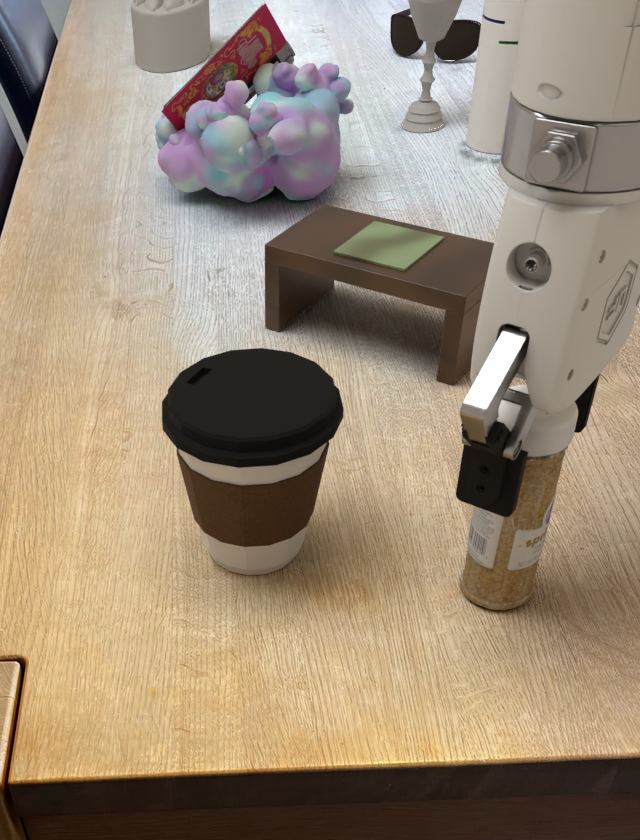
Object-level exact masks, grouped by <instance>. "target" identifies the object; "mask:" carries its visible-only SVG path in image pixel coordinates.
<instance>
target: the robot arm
mask: <svg viewBox="0 0 640 840" xmlns="http://www.w3.org/2000/svg"><path fill="white" fill-rule="evenodd" d="M497 169H498V170H497V171H498V176H499V178H500V179H501V181H502V182H503V183H505V185H506V186H508V190H507V192H506V196H505V200H504V204H503V208H502V210H501V215H500V219H499V221H498V222H499V223H498V226H497V230H496V233H495V238H494V242H493V243H494V246H493V250H492V254H491V259H490V263H489V267H488V272H487V276H486V281H485V286H484V290H483V295H482V300H481V305H480V310H479V315H478V321H477V326H476V332H475V338H474V344H473V352H472V360H471V368H470V375H469V376H470V377H469V379H470V383H471V387H470V388H469V391H468V392H467V394H466V396H465V398H464V399H463V402H462V403H461V406H460V410H459V415H460V421H461V425H460V427H461V428H460V430H461V443H462V445H463V446H462V447H463V448H462V453H461V459H460V465H459V472H458V477H457V483H456V490H455V497H456V499H457V500H458V501H460V502H462V503H465V504H468V505H470V506H473V507H474V506H475V507H478V508H481V509H484V510H486V511H489V512H492V513H495V514H497V515H500V516H503V517H509V516H511V514H512V513H513V512H514V511H515V509H516V506H517V501H518V497H519V492H520V488H521V483H522V479H523V474H524V470H525V465H526V461H527V456H528V452H527V451H524V450H522V447H523V444H524V442H525V439H526V437H527V435H528V432H529V430H530V427H531V425H532V423H533V420H534V418H535V416H536V413H537V411H538V409H540V410H544V411H546V413H547V414H551V415H554V414H557V413H559V412H562V411H563V410H565V409H566V408H568V407H569V406H571V405H572V404H573V403H574V402H575V403H576V405H577V408H578V418H577V422H576V427H575V431H574V434H579V433H581V432H583V431H584V429H585V428H586V427H587V425H588V421H589V417H590V414H591V410H592V406H593V402H594V399H595V395H596V391H597V389H598V384H599V380H600V376H601V373H602V372H603V370H605V369H606V367H607V366H608V365H609V364H610V363H611V361H613V359H614V358H615V357H616V356H617V355H618V353H619V352H620V351H621V350H622V349H623V347H624V345H626V342H627V341H628V339H629V337H630V335H631V333H632V331H633V328H634V325H635V321H636V316H637V313H638V308H639V303H640V0H525V3H524V9H523V16H522V22H521V28H520V35H519V41H518V48H517V54H516V60H515V67H514V73H513V79H512V86H511V92H510V98H509V105H508V111H507V117H506V124H505V130H504V136H503V143H502V149H501V154H500V157H499V163H498V168H497ZM515 378H517V379H520V380H523V381H525V384H527V388H528V392H529V394H527V393H523V392H520V391H517V390H513V389H510V388H509V387H511V384H512V382H513V380H514V379H515ZM501 401H505V402H509V403H512V404H515V405H518V406H521V408H520V410H519V413H518V415H517V418H516V420H515V422H514V425H513V427H512V430H511V432H510V430H509V429H508V428H507V426H506V425H505V424H504V423H502V422H499V421H497V418H498V416H499V413H498V410H499V406H500V403H501Z"/></svg>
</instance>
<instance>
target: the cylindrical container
mask: <svg viewBox="0 0 640 840" xmlns="http://www.w3.org/2000/svg"><path fill="white" fill-rule="evenodd" d="M524 3H525V0H483V7H482V15H481V22H480V23H481V30H480V37H479V45H478V48H477V53H476V61H475V69H474V76H473V85H472V91H471V100H470V108H469V115H468V122H467V131H466V137H465V145H466V146H467V147H469V148H470V149H472V150H474V151H476V152H481V153H483V154H484V153H485V154H496V155H501V149H502V143H503V136H504V130H505V124H506V117H507V111H508V105H509V98H510V92H511V86H512V79H513V73H514V67H515V60H516V54H517V48H518V41H519V35H520V28H521V22H522V16H523V9H524Z"/></svg>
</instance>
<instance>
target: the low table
mask: <svg viewBox="0 0 640 840" xmlns="http://www.w3.org/2000/svg"><path fill="white" fill-rule="evenodd" d="M493 246H494V242H492V241H488V240H482V239H478V238H474V237H469V236H465V235H461V234H457V233H452V232H448V231H443V230H438V229H434V228H430V227H425V226H422V225H417V224H412V223H408V222H403V221H399V220H396V219H390V218H387V217H381V216H377V215H374V214H368V213H364V212H360V211H356V210H351V209H346V208H342V207H339V206H333V205H329V204H324V203H323V204H321V205H320V206H318V207H317V208H315V209H314V210H313V211H311V212H310V213H308V214H306V215H305V216H304V217H302V218H301V219H300V220H298V221H297V222H295V223H294V224H292V225H291V226H289V227H287V228H286V229H285V230H283V231H282V232H281V233H279V234H278V235H275V237H274V238H272V239H270V240H269V241H267V242H266V243H265V244H264V328H266V329H269V330H272V331H275V332H277V333H279V332H281V331H282V330H283V329H284V328H286V327H287V326H288V325H290V324H291V323H292V322H293V321H296V319H298V318H299V317H300V316H301V315H303V314H304V313H305V312H307V311H308V310H309V309H311V308H312V307H313V306H314V305H316V304H317V303H318V302H319V301H321V300H323V298H325V297H326V296H328V295H329V294H330V293H331V292H332V291H334V289H335V281H336V282H339V283H342V284H346V285H350V286H354V287H358V288H362V289H366V290H369V291H373V292H376V293H381V294H385V295H387V296H392V297H395V298H399V299H403V300H406V301H410V302H413V303H417V304H422V305H425V306H429V307H432V308H435V309H439V310H443V311H444V317H443V318H444V319H443V326H442V333H441V341H440V348H439V349H440V350H439V356H438V364H437V371H436V381H437V382H440V383H444V384H447V385H451V386H454V385H455V384H456V383H457V382H458V381H459V380H460V379H461V378H462V377H463V376H464V375H465V374H466V373H467V372H468V371H470V370H471V360H472V352H473V344H474V338H475V332H476V326H477V321H478V315H479V310H480V305H481V300H482V295H483V290H484V286H485V281H486V276H487V272H488V267H489V263H490V259H491V254H492V250H493Z"/></svg>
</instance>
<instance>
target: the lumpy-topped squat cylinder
mask: <svg viewBox="0 0 640 840" xmlns="http://www.w3.org/2000/svg"><path fill="white" fill-rule="evenodd" d="M130 17H131V27H132V38H133V49H134V60H135V61H134V63H135V65H136V66H138V68H140V69H141V70H144V71H145V72H146V71H147V72H150V73H156V74H165V73H166V74H167V73H174V72H179V71H182V70H187V69H189V68H192V67H195V66H197V65H199V64H201V63H203V62H205V61H206V59H207V58H208V57H209V56H210V53H211V50H212V45H211V44H212V43H211V20H210V19H211V17H210V0H132V2H131V3H130Z"/></svg>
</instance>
